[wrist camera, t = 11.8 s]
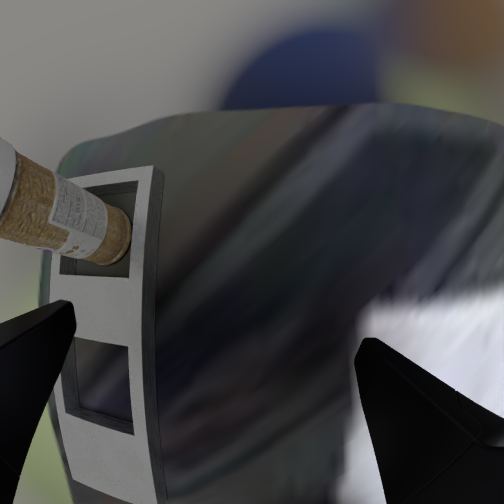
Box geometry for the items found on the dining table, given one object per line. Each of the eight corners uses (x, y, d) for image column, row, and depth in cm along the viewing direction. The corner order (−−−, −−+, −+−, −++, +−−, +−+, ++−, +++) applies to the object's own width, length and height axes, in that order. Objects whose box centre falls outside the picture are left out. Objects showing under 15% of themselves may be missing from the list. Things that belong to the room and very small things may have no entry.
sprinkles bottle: (85, 266, 20) (-62, 231, 7) (90, 210, 21) (-41, 143, 8) (133, 266, 20) (-30, 222, 7) (137, 204, 21) (1, 114, 7)
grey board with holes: (167, 499, 17) (158, 511, 15) (84, 470, 18) (73, 478, 16) (164, 176, 21) (153, 165, 19) (77, 187, 22) (64, 179, 20)
